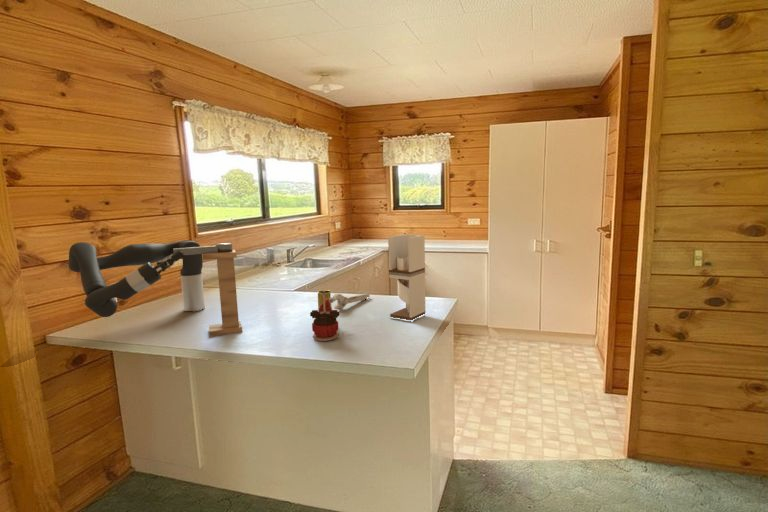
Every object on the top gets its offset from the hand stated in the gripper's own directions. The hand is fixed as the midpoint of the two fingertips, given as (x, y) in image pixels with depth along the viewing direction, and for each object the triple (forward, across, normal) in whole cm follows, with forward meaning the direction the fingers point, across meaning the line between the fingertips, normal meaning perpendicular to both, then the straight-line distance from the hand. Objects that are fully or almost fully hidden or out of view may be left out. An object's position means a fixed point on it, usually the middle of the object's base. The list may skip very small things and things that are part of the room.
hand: (183, 252), depth 164 cm
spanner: (+5, 0, -4) cm, 7 cm away
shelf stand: (-6, 0, -35) cm, 35 cm away
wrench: (+44, -14, -65) cm, 80 cm away
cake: (+23, +26, -52) cm, 63 cm away
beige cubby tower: (+57, +16, -72) cm, 93 cm away
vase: (+27, +11, -54) cm, 62 cm away
